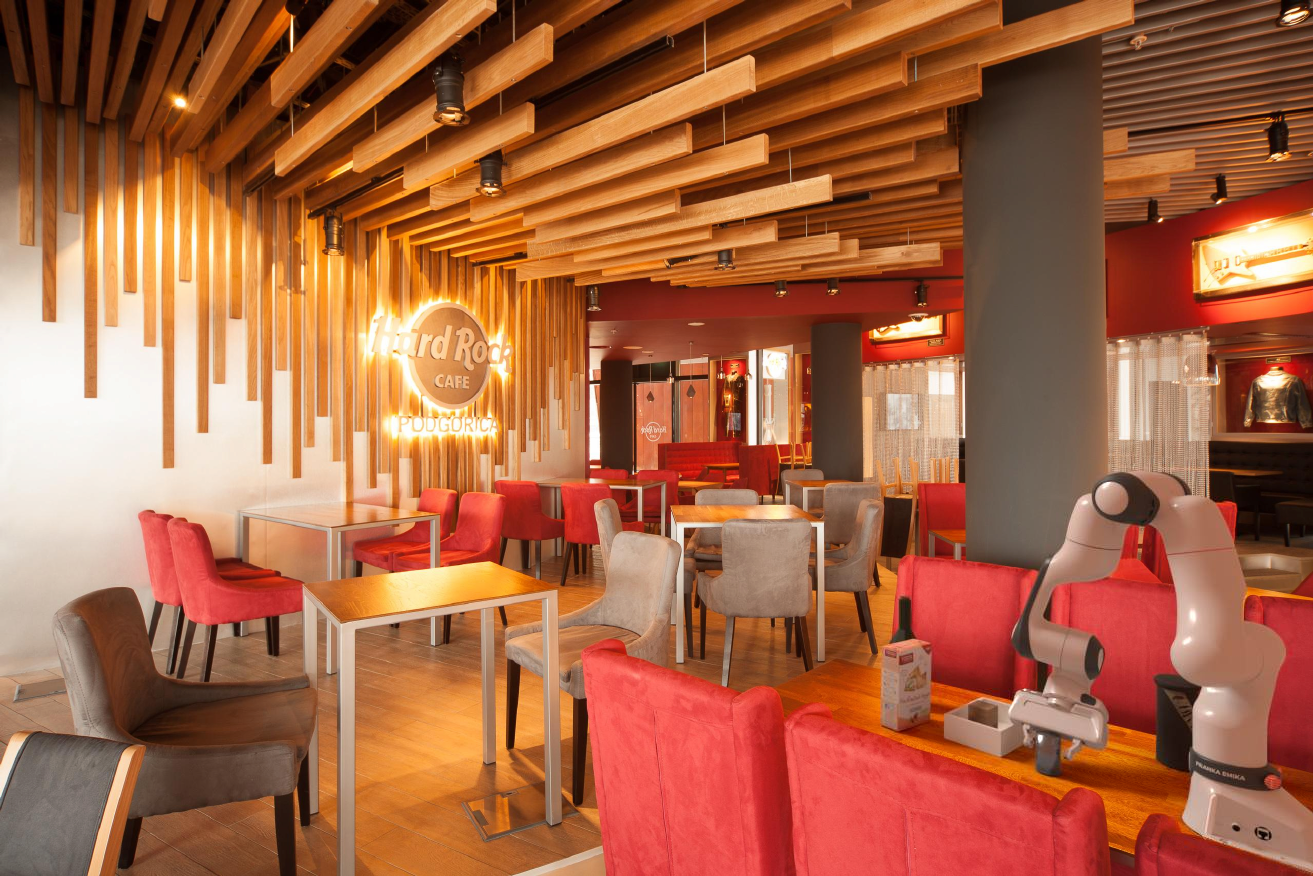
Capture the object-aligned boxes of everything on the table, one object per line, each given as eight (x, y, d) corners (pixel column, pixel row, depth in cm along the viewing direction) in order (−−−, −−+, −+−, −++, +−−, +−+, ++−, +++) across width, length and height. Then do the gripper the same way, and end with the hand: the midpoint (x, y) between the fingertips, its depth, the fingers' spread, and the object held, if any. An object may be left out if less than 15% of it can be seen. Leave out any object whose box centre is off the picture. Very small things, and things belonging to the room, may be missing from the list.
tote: (1037, 736, 178) (1037, 712, 178) (1000, 757, 166) (1000, 731, 166) (982, 719, 189) (982, 696, 189) (944, 738, 176) (944, 714, 176)
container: (1182, 774, 158) (1182, 684, 158) (1144, 757, 166) (1144, 672, 167) (1211, 770, 160) (1211, 681, 160) (1172, 753, 169) (1172, 669, 169)
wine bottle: (882, 699, 203) (883, 594, 204) (904, 695, 207) (905, 592, 207) (904, 709, 196) (904, 600, 196) (926, 705, 199) (927, 598, 200)
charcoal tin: (1060, 769, 159) (1060, 733, 160) (1061, 777, 155) (1061, 740, 156) (1035, 764, 162) (1035, 729, 162) (1035, 772, 157) (1035, 735, 158)
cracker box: (899, 733, 179) (899, 650, 179) (879, 726, 184) (880, 645, 184) (932, 721, 187) (932, 642, 187) (912, 714, 192) (912, 637, 192)
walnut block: (997, 738, 174) (997, 705, 174) (988, 743, 171) (988, 710, 171) (977, 732, 178) (977, 700, 178) (968, 737, 175) (968, 704, 175)
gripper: (1014, 679, 171) (995, 730, 165) (1109, 703, 155) (1092, 760, 149) (1022, 694, 174) (1004, 744, 168) (1117, 719, 158) (1100, 775, 152)
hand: (1046, 752), depth 158 cm, fingers open, 7 cm apart
